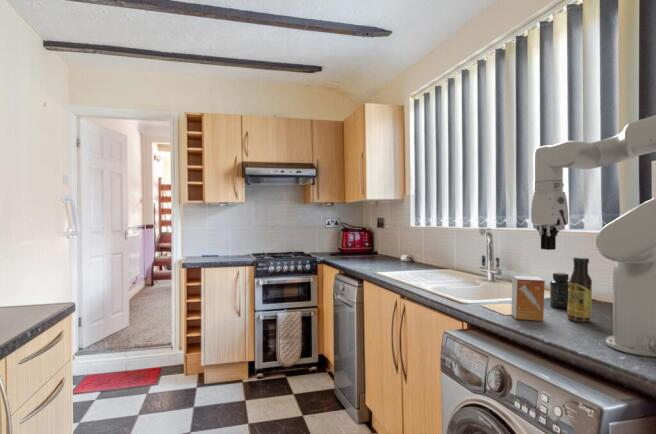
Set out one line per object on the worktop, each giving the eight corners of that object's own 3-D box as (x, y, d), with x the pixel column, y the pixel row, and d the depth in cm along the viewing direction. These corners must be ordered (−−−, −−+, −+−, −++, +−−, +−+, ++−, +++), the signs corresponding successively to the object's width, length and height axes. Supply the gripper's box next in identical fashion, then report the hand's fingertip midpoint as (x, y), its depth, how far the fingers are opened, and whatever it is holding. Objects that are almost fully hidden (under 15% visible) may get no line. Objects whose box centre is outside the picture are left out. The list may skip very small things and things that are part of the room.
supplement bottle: (550, 303, 143) (550, 271, 143) (572, 306, 139) (572, 273, 139) (548, 307, 137) (548, 274, 137) (571, 310, 133) (571, 275, 133)
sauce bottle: (562, 318, 123) (562, 256, 123) (576, 316, 125) (576, 255, 125) (582, 324, 117) (582, 259, 117) (596, 322, 119) (596, 258, 119)
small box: (515, 319, 122) (516, 278, 121) (511, 313, 128) (512, 275, 127) (544, 321, 120) (545, 280, 119) (537, 315, 126) (538, 276, 126)
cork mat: (536, 313, 129) (536, 312, 129) (505, 315, 127) (505, 314, 127) (509, 304, 143) (509, 303, 143) (480, 305, 141) (480, 305, 141)
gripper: (580, 186, 108) (580, 251, 108) (540, 189, 123) (540, 246, 123) (557, 185, 107) (557, 252, 107) (519, 189, 122) (519, 247, 122)
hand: (548, 249), depth 115 cm, fingers closed
